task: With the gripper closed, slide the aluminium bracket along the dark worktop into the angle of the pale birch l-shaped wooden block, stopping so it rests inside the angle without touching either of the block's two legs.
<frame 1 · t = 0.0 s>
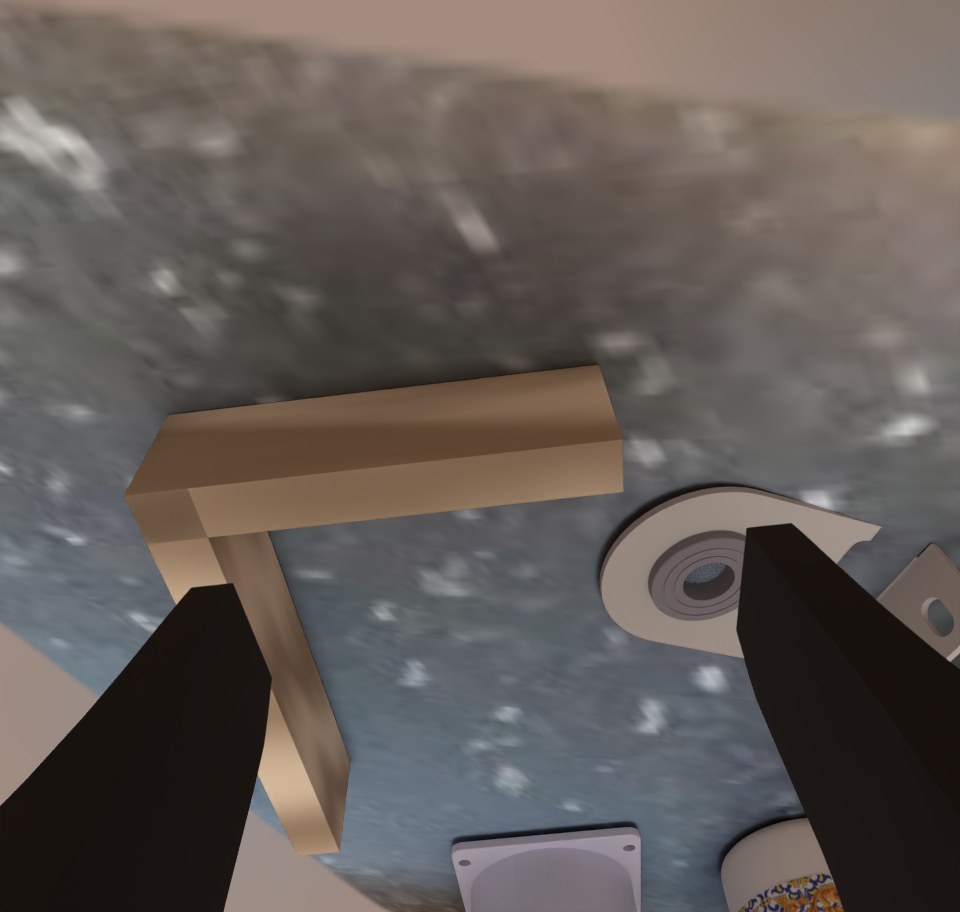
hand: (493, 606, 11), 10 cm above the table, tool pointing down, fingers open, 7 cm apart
bath foam: (793, 850, 35), on the table
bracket: (755, 576, 26), on the table
l-shaped wooden block: (450, 600, 25), on the table
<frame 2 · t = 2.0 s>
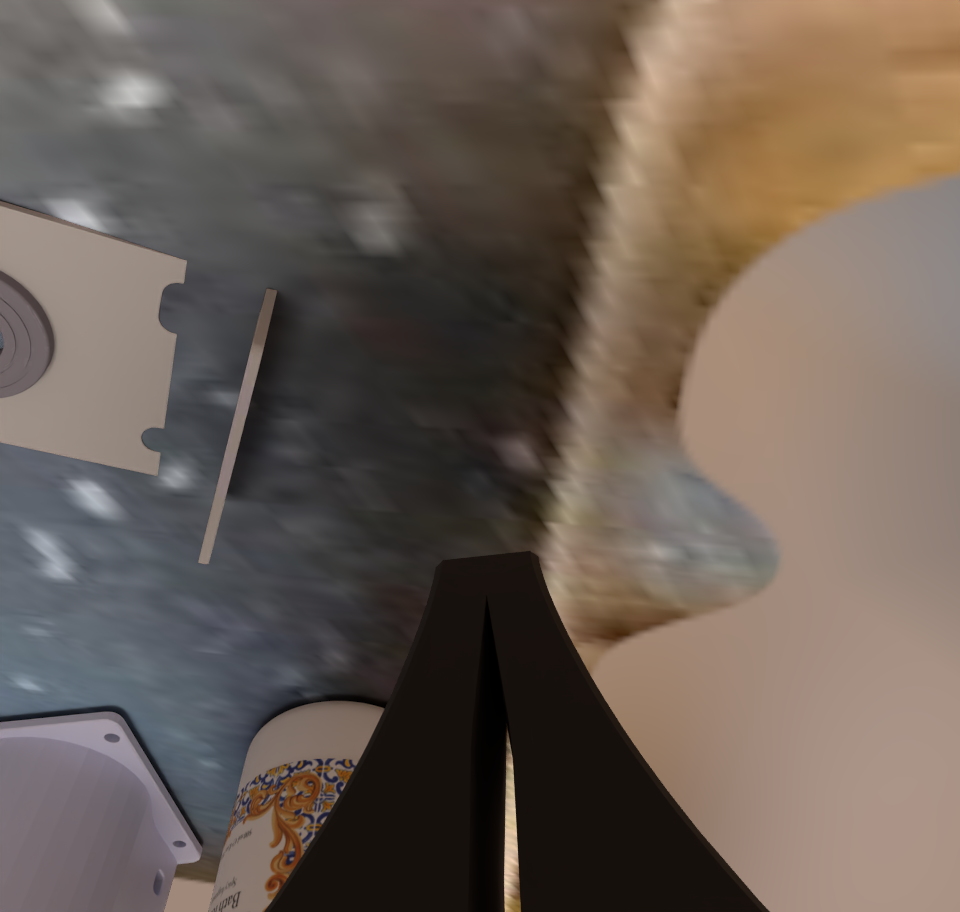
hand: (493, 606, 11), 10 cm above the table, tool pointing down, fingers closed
bath foam: (344, 748, 30), on the table
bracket: (89, 350, 20), on the table
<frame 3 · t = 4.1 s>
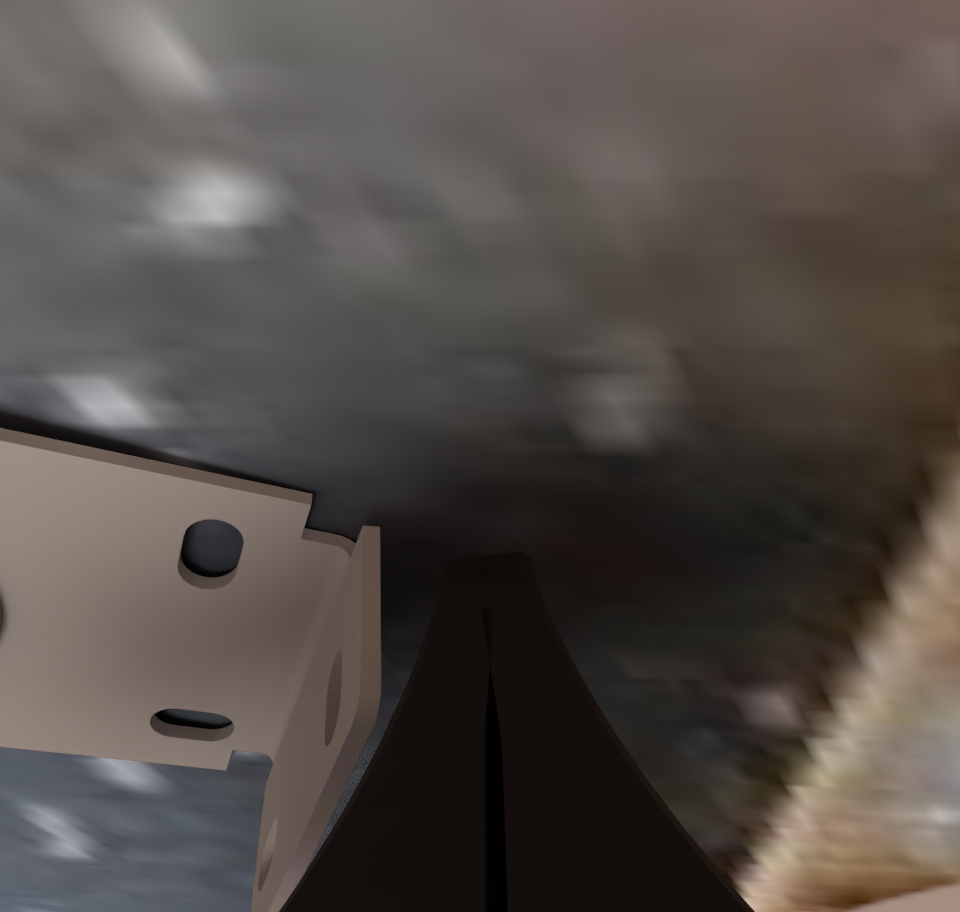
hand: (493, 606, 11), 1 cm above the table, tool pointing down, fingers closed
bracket: (65, 599, 12), on the table, touching gripper
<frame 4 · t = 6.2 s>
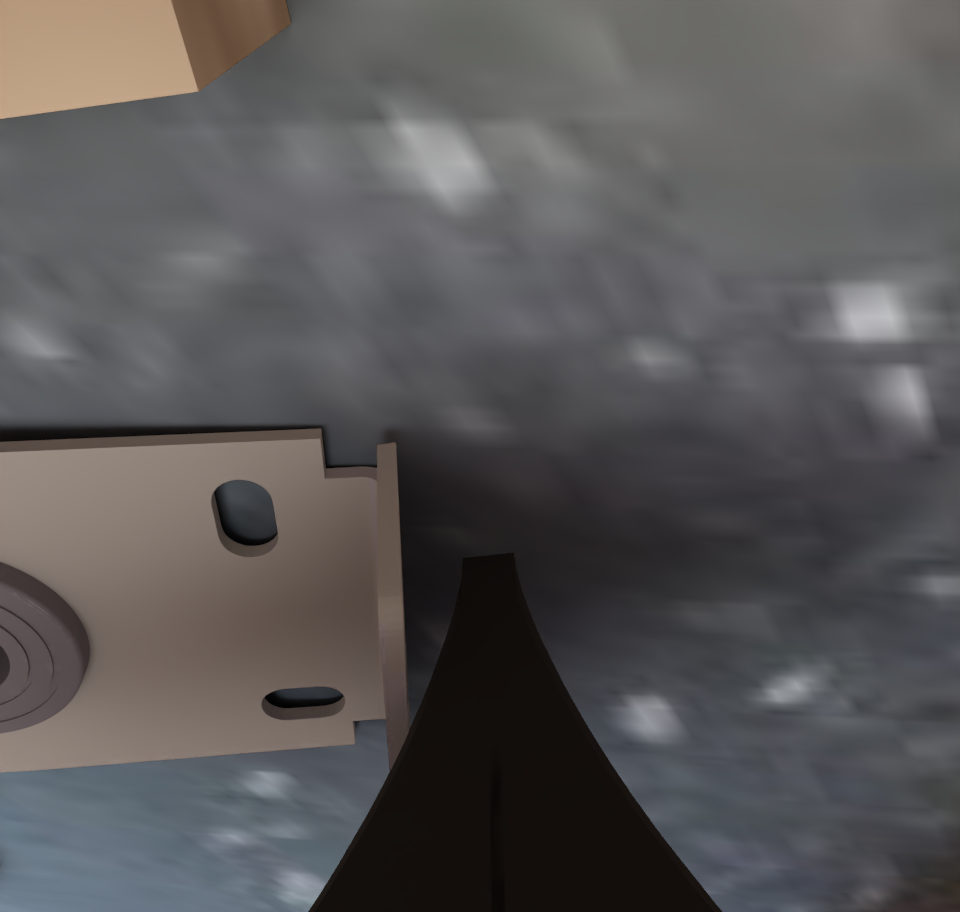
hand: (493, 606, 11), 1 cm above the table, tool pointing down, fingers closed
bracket: (146, 605, 13), on the table, touching l-shaped wooden block, gripper
l-shaped wooden block: (73, 560, 12), on the table
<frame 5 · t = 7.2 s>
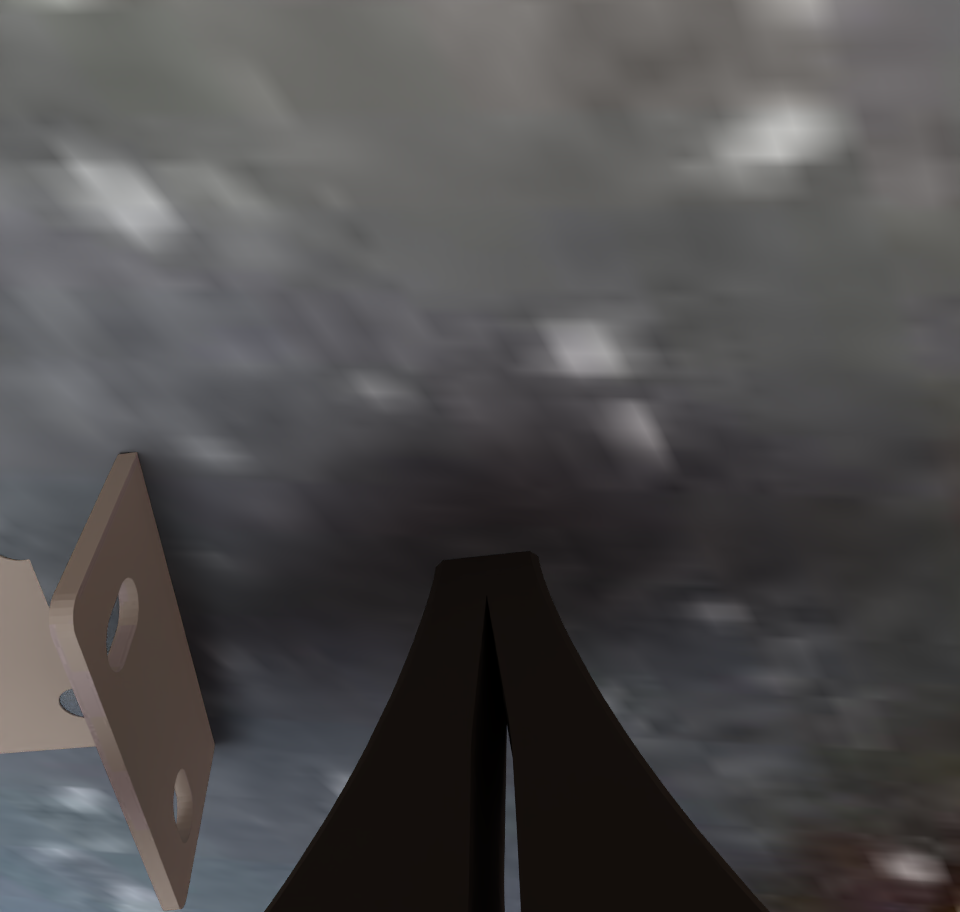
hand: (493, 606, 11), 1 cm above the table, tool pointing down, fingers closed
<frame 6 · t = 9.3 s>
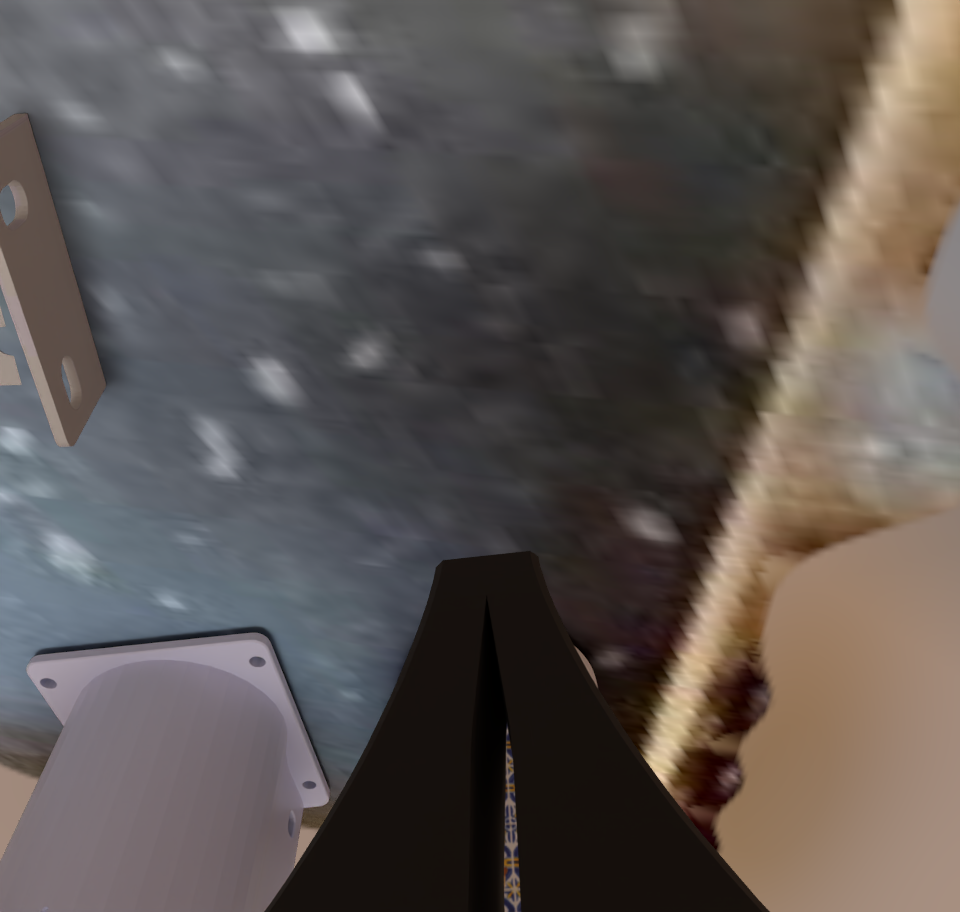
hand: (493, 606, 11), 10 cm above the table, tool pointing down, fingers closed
bath foam: (495, 678, 28), on the table
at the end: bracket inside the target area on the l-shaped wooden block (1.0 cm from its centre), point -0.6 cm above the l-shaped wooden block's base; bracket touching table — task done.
